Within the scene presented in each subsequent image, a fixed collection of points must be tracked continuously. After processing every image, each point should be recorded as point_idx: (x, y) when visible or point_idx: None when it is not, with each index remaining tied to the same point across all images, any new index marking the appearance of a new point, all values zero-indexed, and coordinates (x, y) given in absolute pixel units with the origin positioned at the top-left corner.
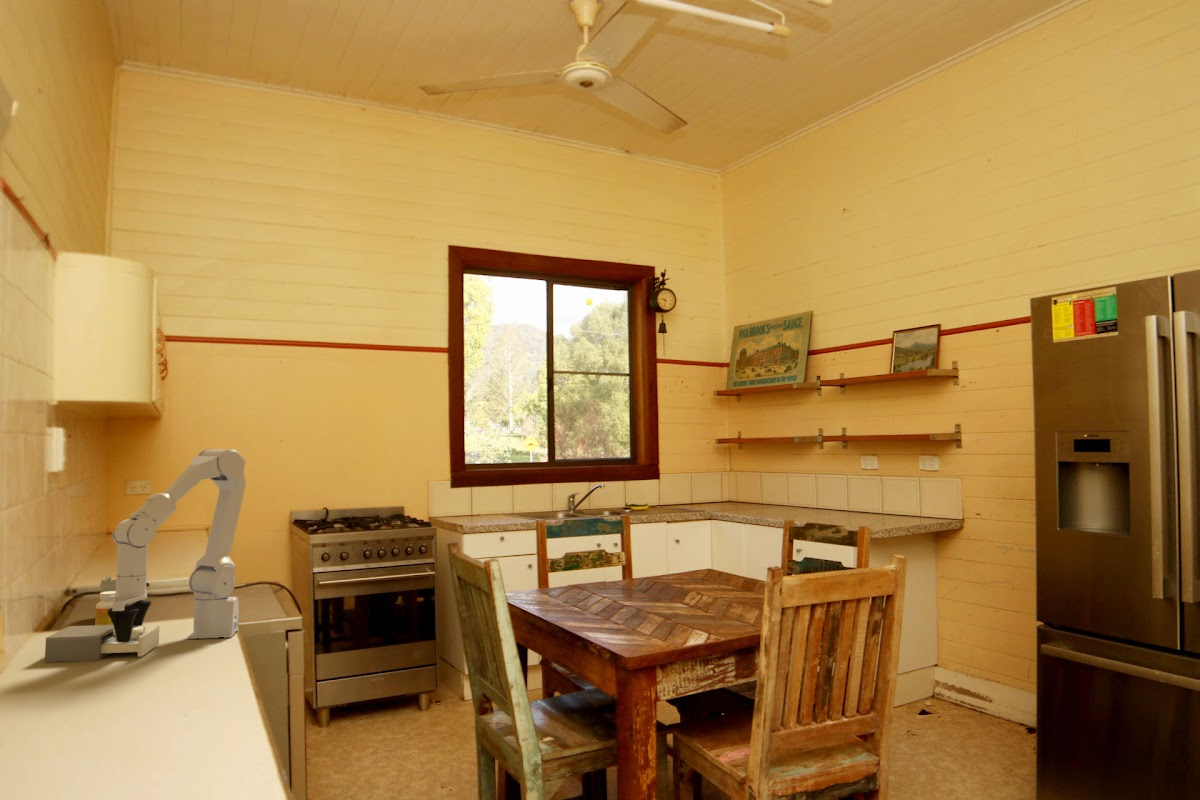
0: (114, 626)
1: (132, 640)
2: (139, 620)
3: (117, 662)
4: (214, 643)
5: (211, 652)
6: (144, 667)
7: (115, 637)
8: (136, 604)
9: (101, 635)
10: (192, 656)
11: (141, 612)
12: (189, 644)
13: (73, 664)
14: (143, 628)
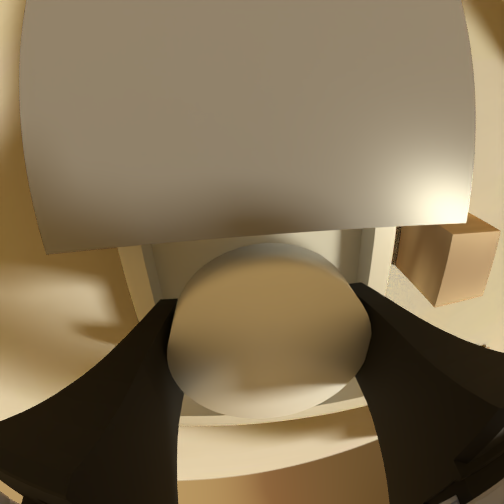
0: (99, 365)
1: (354, 279)
2: (373, 399)
3: (91, 295)
4: (339, 436)
5: (234, 456)
6: (65, 381)
7: (184, 288)
8: (427, 489)
9: (73, 250)
10: (192, 442)
11: (389, 451)
12: None
13: None
14: (460, 300)
